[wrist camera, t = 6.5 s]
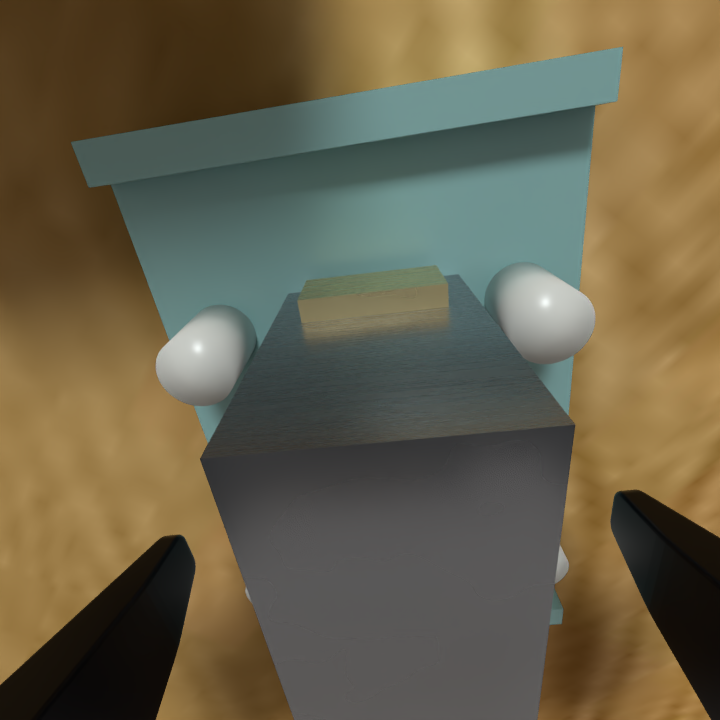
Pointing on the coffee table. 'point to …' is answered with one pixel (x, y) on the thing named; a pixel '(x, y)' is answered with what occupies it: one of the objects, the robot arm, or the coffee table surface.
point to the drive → (395, 501)
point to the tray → (366, 212)
